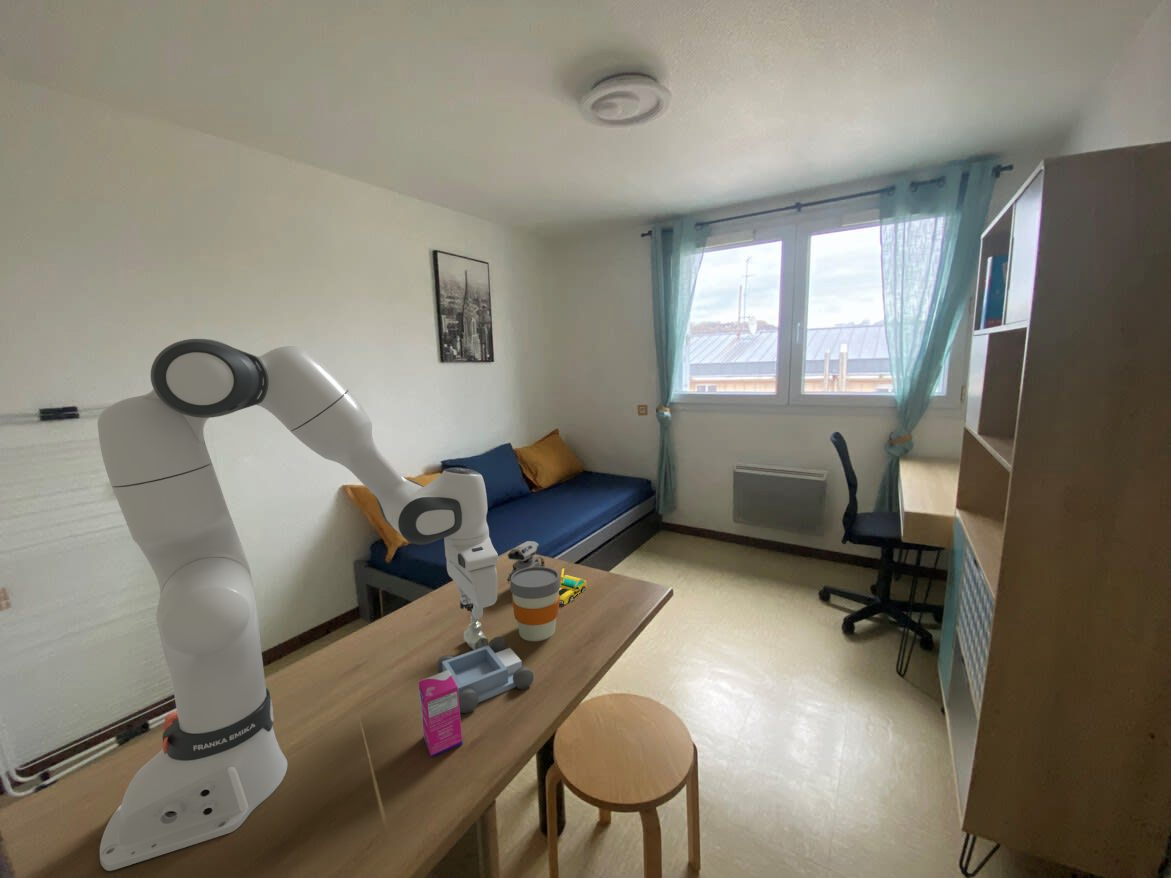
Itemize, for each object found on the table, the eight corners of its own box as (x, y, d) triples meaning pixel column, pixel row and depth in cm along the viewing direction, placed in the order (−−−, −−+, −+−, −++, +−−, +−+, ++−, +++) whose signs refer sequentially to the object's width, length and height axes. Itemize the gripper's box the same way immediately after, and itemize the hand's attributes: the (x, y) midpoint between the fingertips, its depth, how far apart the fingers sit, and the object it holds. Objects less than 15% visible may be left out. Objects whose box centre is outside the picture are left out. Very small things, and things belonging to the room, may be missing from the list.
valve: (468, 658, 108) (465, 609, 106) (457, 645, 113) (454, 599, 112) (494, 648, 112) (492, 601, 110) (482, 636, 117) (480, 591, 115)
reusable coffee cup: (529, 615, 127) (527, 563, 124) (570, 625, 121) (569, 570, 119) (502, 639, 115) (499, 582, 113) (545, 651, 110) (543, 591, 108)
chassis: (459, 716, 90) (458, 696, 89) (436, 675, 102) (435, 657, 102) (533, 685, 98) (533, 666, 98) (504, 650, 111) (503, 633, 110)
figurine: (500, 595, 139) (498, 546, 137) (528, 581, 148) (526, 535, 145) (521, 604, 133) (519, 553, 131) (549, 589, 142) (548, 542, 140)
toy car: (568, 586, 144) (567, 561, 142) (589, 592, 140) (589, 566, 138) (545, 603, 134) (544, 575, 132) (567, 610, 129) (566, 581, 128)
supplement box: (421, 737, 85) (417, 679, 83) (454, 724, 88) (450, 668, 86) (429, 759, 80) (424, 698, 78) (463, 744, 83) (459, 685, 81)
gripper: (437, 535, 102) (441, 594, 104) (469, 566, 85) (474, 636, 87) (465, 529, 105) (469, 587, 107) (501, 557, 88) (505, 626, 90)
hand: (471, 609), depth 97 cm, fingers open, 6 cm apart
